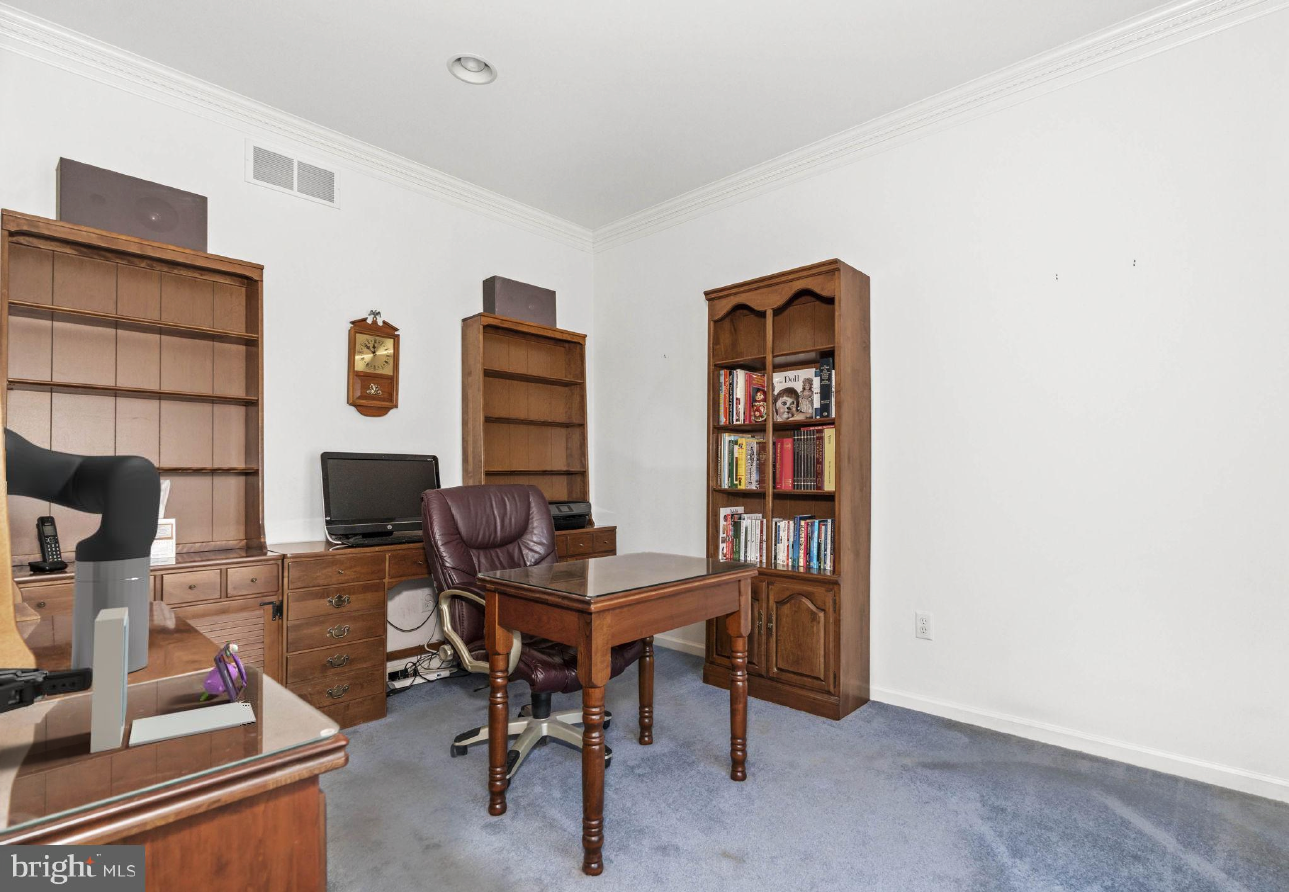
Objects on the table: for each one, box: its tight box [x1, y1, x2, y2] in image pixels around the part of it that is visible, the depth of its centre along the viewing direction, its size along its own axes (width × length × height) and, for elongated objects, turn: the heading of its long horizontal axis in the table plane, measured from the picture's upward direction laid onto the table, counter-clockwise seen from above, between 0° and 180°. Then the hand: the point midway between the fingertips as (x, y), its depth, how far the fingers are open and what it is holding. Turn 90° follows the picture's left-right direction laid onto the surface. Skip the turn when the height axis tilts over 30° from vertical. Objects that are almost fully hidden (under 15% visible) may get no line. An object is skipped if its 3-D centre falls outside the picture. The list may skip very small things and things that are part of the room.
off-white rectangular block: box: [90, 607, 129, 754], centre depth 75 cm, size 8×3×14 cm, turn 36°
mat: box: [128, 700, 257, 748], centre depth 79 cm, size 9×12×1 cm
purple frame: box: [199, 641, 248, 703], centre depth 89 cm, size 7×5×9 cm
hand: (91, 678), depth 74 cm, fingers closed
